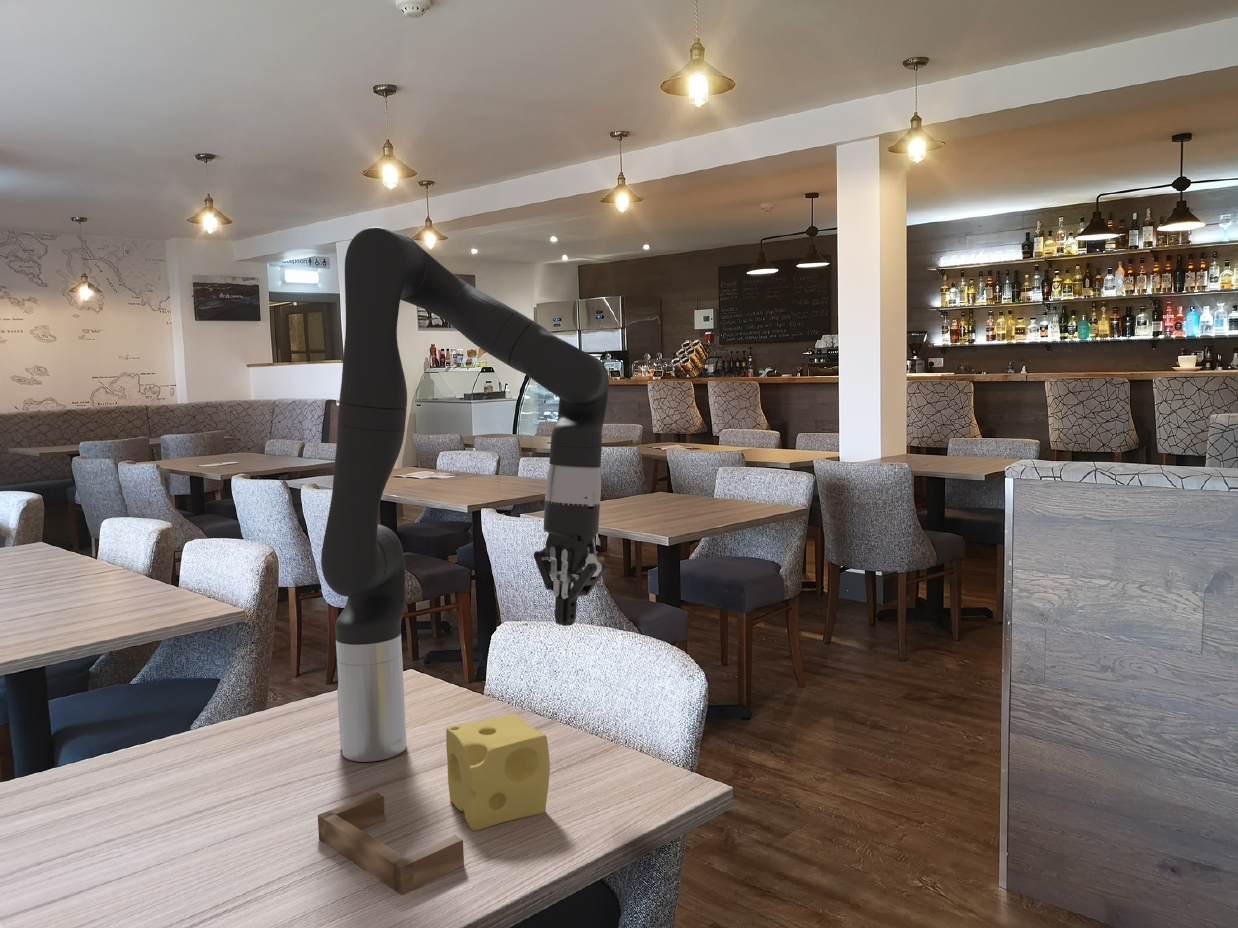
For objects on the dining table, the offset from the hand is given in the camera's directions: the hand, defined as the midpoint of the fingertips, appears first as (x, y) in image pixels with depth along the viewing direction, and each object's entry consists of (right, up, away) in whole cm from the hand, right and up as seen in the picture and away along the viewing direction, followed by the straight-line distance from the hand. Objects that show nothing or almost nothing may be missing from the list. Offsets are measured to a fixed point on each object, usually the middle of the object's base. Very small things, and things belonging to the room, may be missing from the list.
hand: (564, 624), depth 127 cm
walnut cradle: (-19, -23, -21) cm, 36 cm away
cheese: (-8, -22, -9) cm, 25 cm away
